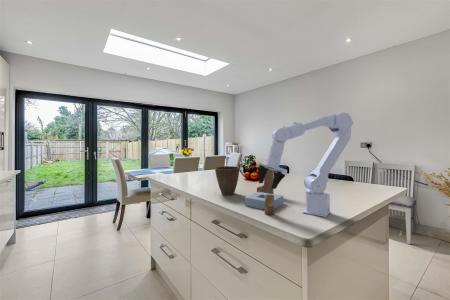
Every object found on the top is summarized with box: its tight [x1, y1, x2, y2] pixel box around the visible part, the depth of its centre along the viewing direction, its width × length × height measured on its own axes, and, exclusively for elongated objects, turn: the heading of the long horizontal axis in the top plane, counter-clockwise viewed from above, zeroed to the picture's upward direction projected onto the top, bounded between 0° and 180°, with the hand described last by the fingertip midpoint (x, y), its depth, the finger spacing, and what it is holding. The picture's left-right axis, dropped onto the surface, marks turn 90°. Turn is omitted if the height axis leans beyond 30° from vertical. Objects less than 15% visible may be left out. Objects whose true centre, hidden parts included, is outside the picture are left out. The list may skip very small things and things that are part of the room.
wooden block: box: [256, 167, 275, 194], centre depth 119 cm, size 9×4×18 cm, turn 66°
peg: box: [264, 194, 275, 216], centre depth 88 cm, size 4×4×8 cm
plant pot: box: [214, 166, 240, 196], centre depth 124 cm, size 15×15×16 cm
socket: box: [244, 191, 284, 211], centre depth 101 cm, size 14×14×4 cm
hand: (266, 185), depth 90 cm, fingers open, 7 cm apart
